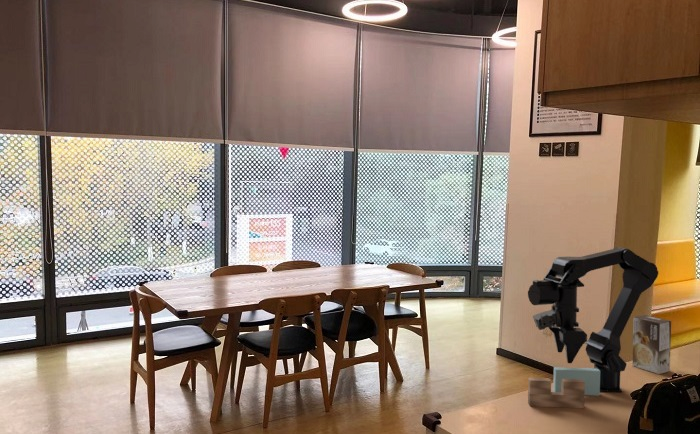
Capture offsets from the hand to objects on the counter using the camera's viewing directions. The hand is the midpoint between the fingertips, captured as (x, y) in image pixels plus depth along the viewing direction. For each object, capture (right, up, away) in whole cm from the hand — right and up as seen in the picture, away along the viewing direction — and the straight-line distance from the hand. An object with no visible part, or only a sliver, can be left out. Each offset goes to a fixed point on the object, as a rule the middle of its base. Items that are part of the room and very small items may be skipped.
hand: (564, 357), depth 152 cm
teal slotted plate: (+3, -10, 0) cm, 11 cm away
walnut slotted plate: (-5, -11, -8) cm, 14 cm away
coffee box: (+35, -9, +20) cm, 42 cm away
